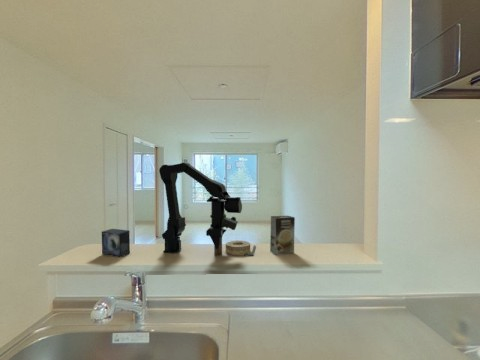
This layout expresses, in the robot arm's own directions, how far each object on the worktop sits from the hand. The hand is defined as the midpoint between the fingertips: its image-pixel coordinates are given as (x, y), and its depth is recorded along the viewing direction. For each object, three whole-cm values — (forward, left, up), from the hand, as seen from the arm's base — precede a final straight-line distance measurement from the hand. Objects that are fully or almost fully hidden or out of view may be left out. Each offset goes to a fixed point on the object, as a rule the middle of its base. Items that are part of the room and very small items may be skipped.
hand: (218, 247), depth 124 cm
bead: (+8, +6, -3) cm, 10 cm away
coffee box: (+28, +7, -3) cm, 29 cm away
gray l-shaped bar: (+13, +7, -3) cm, 15 cm away
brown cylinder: (0, 0, -3) cm, 3 cm away
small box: (-45, -5, -3) cm, 45 cm away
